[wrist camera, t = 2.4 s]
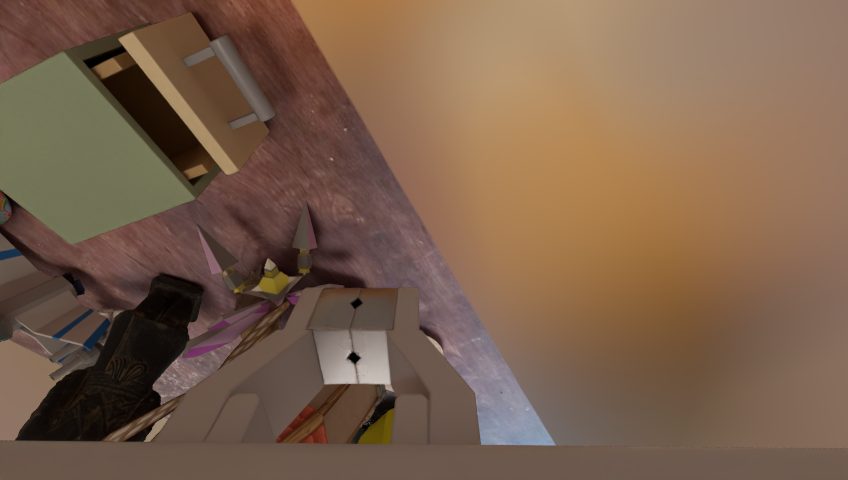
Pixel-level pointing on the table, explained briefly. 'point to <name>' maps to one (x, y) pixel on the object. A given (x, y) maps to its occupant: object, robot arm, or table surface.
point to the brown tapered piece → (248, 300)
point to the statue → (120, 370)
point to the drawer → (189, 95)
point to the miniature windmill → (317, 423)
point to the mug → (4, 208)
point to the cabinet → (83, 149)
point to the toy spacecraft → (48, 312)
